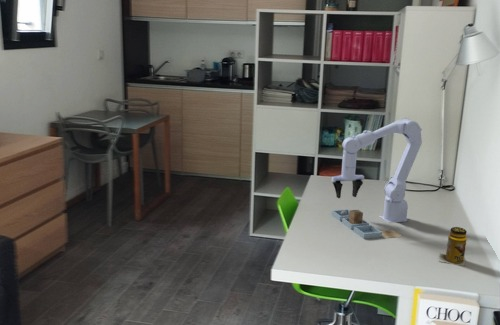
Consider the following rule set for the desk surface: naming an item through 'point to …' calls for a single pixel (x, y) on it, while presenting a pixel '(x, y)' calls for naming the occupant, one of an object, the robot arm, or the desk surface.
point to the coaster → (390, 234)
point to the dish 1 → (339, 214)
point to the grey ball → (344, 213)
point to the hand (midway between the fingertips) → (346, 197)
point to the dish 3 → (367, 231)
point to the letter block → (355, 217)
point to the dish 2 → (351, 226)
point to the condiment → (455, 247)
